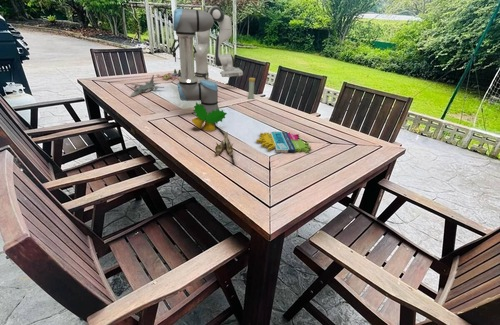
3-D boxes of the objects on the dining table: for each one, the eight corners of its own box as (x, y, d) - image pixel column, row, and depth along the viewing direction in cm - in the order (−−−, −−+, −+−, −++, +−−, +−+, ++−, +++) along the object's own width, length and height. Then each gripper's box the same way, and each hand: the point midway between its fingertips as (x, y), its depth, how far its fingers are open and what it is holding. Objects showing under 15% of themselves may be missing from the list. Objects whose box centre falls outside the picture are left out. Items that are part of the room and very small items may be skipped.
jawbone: (234, 135, 144) (233, 125, 135) (233, 160, 138) (232, 151, 129) (217, 135, 144) (216, 125, 135) (216, 160, 138) (214, 150, 129)
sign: (313, 150, 142) (258, 149, 139) (312, 153, 143) (258, 152, 140) (301, 132, 164) (254, 130, 161) (301, 134, 165) (254, 133, 162)
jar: (254, 98, 233) (255, 79, 224) (251, 99, 229) (252, 79, 221) (250, 97, 235) (251, 78, 227) (247, 98, 232) (248, 78, 224)
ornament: (218, 133, 171) (224, 110, 169) (221, 134, 163) (227, 111, 161) (186, 125, 162) (192, 101, 160) (189, 126, 155) (195, 101, 153)
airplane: (124, 86, 238) (122, 75, 233) (160, 84, 251) (158, 74, 246) (129, 99, 209) (126, 86, 204) (168, 96, 223) (167, 84, 217)
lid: (256, 81, 225) (256, 78, 224) (252, 81, 221) (252, 79, 220) (251, 79, 228) (251, 77, 227) (247, 80, 224) (247, 78, 223)
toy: (189, 70, 290) (176, 74, 264) (189, 77, 293) (177, 81, 267) (166, 67, 295) (151, 71, 269) (167, 74, 298) (152, 78, 272)
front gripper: (198, 33, 207) (199, 61, 218) (165, 31, 201) (168, 60, 211) (199, 33, 201) (200, 62, 211) (165, 32, 194) (168, 62, 205)
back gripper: (219, 68, 242) (222, 73, 232) (240, 67, 248) (244, 71, 237) (219, 75, 246) (223, 80, 236) (240, 74, 252) (244, 78, 241)
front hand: (184, 61), depth 211 cm, fingers open, 13 cm apart
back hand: (234, 76), depth 237 cm, fingers open, 8 cm apart
